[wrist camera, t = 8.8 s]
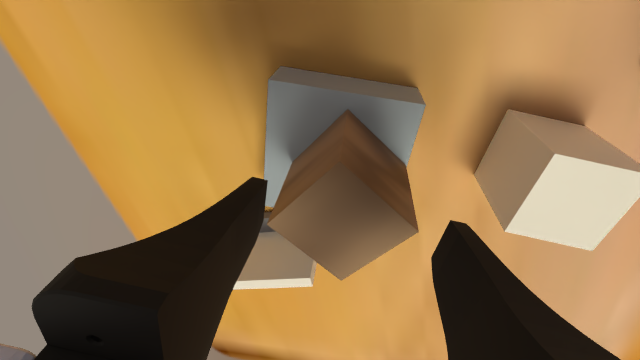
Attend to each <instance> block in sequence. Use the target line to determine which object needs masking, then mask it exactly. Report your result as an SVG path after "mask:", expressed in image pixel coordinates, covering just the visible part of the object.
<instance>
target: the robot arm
mask: <svg viewBox="0 0 640 360" xmlns="http://www.w3.org/2000/svg"><path fill="white" fill-rule="evenodd" d="M267 184H268V180H264V179H260V178H255V177H252V178H250V179H249V180H247V181H246V182H245V183H243V184H242V185H241V186H240V187H238V188H237V189H236V190H234V191H233V192H232V193H230V194H229V195H227V196H226V197H225V198H223V199H222V200H220V201H219V202H217V203H216V204H214V205H213V206H211V207H210V208H208V209H206V210H205V211H203V212H202V213H200V214H198V215H196V216H195V217H193V218H191V219H189V220H187V221H185V222H183V223H181V224H179V225H177V226H175V227H173V228H170V229H168V230H166V231H163V232H161V233H158V234H156V235H153V236H151V237H148V238H146V239H143V240H140V241H137V242H134V243H131V244H128V245H124V246H121V247H118V248H114V249H111V250H107V251H103V252H99V253H95V254H91V255H87V256H82V257H78V258H75V259H74V260H73V261H72V262H71V263H70V264H69V265H68V266H66V267H65V268H64V269H63V270H62V271H61V272H60V273H59V274H58V275H57V276H56V277H55V278H54V279H53V280H52V281H51V282H50V283H49V284H48V285H47V286H46V287H45V288H44V289H43V290H42V291H41V292H40V293H39V294H38V295H37V296H36V297H35V298H34V299H33V303H32V311H33V314H34V318H35V320H36V322H37V324H38V326H39V328H40V330H41V332H42V334H43V336H44V339H45V341H46V343H47V345H46V346H45V348H44V349H43V350H42V351H41V352H40V353H39V354H38V356H37V357H36V356H35V355H34V354H33V353H31V352H30V351H27V350H25V349H22V348H18V347H13V346H8V345H4V344H0V360H206V359H207V356H208V354H209V350H210V348H211V345H212V342H213V339H214V337H215V334H216V331H217V328H218V326H219V323H220V320H221V318H222V315H223V312H224V310H225V307H226V304H227V302H228V299H229V297H230V294H231V292H232V290H233V288H234V286H235V284H236V282H237V280H238V278H239V276H240V274H241V272H242V270H243V268H244V266H245V264H246V262H247V260H248V258H249V256H250V253H251V251H252V249H253V247H254V245H255V243H256V241H257V238H258V235H259V232H260V229H261V226H262V223H263V220H264V211H265V202H266V193H267ZM431 259H432V275H433V283H434V288H435V293H436V298H437V302H438V307H439V311H440V316H441V320H442V324H443V329H444V333H445V339H446V344H447V351H448V360H621V359H619V358H618V357H616V356H615V355H613V354H612V353H610V352H609V351H607V350H606V349H604V348H603V347H601V346H600V345H598V344H597V343H595V342H594V341H593V340H591V339H590V338H588V337H587V336H586V335H584V334H583V333H582V332H580V331H579V330H578V329H576V328H575V327H574V326H572V325H571V324H570V323H568V322H567V321H566V320H564V319H563V318H562V317H561V316H559V315H558V314H557V313H556V312H554V311H553V310H552V309H551V308H550V307H549V306H547V305H546V304H545V303H544V302H543V301H542V300H540V299H539V298H538V297H537V296H536V295H535V294H534V293H533V292H531V291H530V290H529V289H528V288H527V287H526V286H525V285H524V284H523V283H522V282H521V281H520V280H519V279H518V278H517V277H516V276H515V275H514V274H513V273H512V272H511V271H510V270H509V269H508V268H507V267H506V266H505V265H504V264H503V263H502V262H501V261H500V260H499V258H498V257H497V256H496V255H495V254H494V253H493V252H492V251H491V250H490V249H489V247H488V246H487V245H486V244H485V243H484V242H483V241H482V240H481V239H480V238H479V236H478V235H477V234H476V233H475V232H474V231H473V230H472V229H471V228H470V227H469V226H468V225H467V224H466V223H461V222H457V221H452V220H450V222H449V224H448V226H447V228H446V230H445V232H444V234H443V236H442V238H441V240H440V242H439V244H438V246H437V248H436V249H435V251H434V253H433V255H432V257H431Z"/></svg>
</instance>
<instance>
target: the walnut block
mask: <svg viewBox="0 0 640 360" xmlns="http://www.w3.org/2000/svg"><path fill="white" fill-rule="evenodd" d="M267 225H268V226H269V227H271V228H272V229H273V230H275V231H276V232H277V233H279V234H280V235H281V236H283V237H284V238H285V239H287V240H288V241H289V242H291V243H292V244H293V245H295V246H296V247H297V248H299V249H300V250H301V251H303V252H304V253H305V254H307V255H308V256H309V257H311V258H312V259H313V260H315V261H316V262H317V263H318V264H320V265H321V266H322V267H324V268H325V269H326V270H328V271H329V272H330V273H332V274H333V275H334V276H336V277H337V278H338V279H340V280H343V279H345V278H346V277H348V276H349V275H351V274H353V273H354V272H356V271H357V270H359V269H360V268H362V267H364V266H365V265H367V264H368V263H370V262H372V261H373V260H375V259H376V258H378V257H379V256H381V255H383V254H384V253H386V252H387V251H389V250H391V249H392V248H394V247H395V246H397V245H398V244H400V243H402V242H403V241H405V240H406V239H408V238H410V237H411V236H413V235H414V234H416V233H417V232H419V231H418V225H417V220H416V215H415V210H414V205H413V200H412V195H411V189H410V184H409V179H408V174H407V169H406V165H405V164H404V163H403V162H402V161H401V160H400V159H399V158H398V157H397V156H396V155H395V154H394V153H393V152H392V151H391V150H390V149H389V148H388V147H387V146H386V145H385V144H384V143H383V142H382V141H381V140H380V139H379V138H378V137H376V136H375V135H374V134H373V133H372V132H371V131H370V130H369V129H368V128H367V127H366V126H365V125H364V124H363V123H362V122H361V121H360V120H359V119H358V118H357V117H356V116H355V115H354V114H353V113H352V112H351V111H350V110H349V109H347V110H346V111H345V112H344V113H343V114H342V115H341V116H340V117H339V118H338V119H337V120H336V121H335V122H334V123H333V124H331V125H330V126H329V127H328V128H327V129H326V130H325V131H324V132H323V133H322V134H321V135H320V136H319V137H318V138H317V139H316V140H315V141H314V142H313V143H312V144H311V145H310V146H309V147H307V148H306V149H305V150H304V151H303V152H302V153H301V154H300V155H299V156H298V157H297V158H296V159H295V160H294V161H293V162H292V164H291V166H290V169H289V171H288V174H287V176H286V179H285V181H284V183H283V186H282V188H281V191H280V193H279V196H278V198H277V201H276V203H275V206H274V208H273V210H272V213H271V215H270V218H269V220H268V223H267Z"/></svg>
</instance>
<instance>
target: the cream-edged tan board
mask: <svg viewBox="0 0 640 360" xmlns="http://www.w3.org/2000/svg"><path fill="white" fill-rule="evenodd" d="M271 213H272V212H264V220H263V223H262V226H261V229H260V232H259V235H258V238H257V241H256V243H255V245H254V247H253V249H252V251H251V253H250V256H249V258H248V260H247V262H246V264H245V266H244V268H243V270H242V272H241V274H240V276H239V278H238V280H237V282H236V284H235V286H234V288H233V289H259V288H284V287H310V286H313V281H314V276H315V270H316V264H317V262H316V261H315V260H313V259H312V258H311V257H309V256H308V255H307V254H305V253H304V252H303V251H301V250H300V249H299V248H297V247H296V246H295V245H293V244H292V243H291V242H289V241H288V240H287V239H285V238H284V237H283V236H281V235H280V234H279V233H277V232H276V231H275V230H273V229H272V228H271V227H269V226H268V225H267V223H268V220H269V218H270V215H271Z"/></svg>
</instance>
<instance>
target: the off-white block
mask: <svg viewBox="0 0 640 360" xmlns="http://www.w3.org/2000/svg"><path fill="white" fill-rule="evenodd" d="M474 176H475V178H476V179H477V181H478V183H479V185H480V187H481V189H482V190H483V192H484V194H485V196H486V198H487V200H488V202H489V203H490V205H491V207H492V209H493V211H494V213H495V215H496V216H497V218H498V220H499V222H500V224H501V226H502V228H503V229H504V231H505V232H509V233H514V234H518V235H523V236H527V237H532V238H536V239H541V240H545V241H550V242H554V243H559V244H563V245H568V246H572V247H577V248H581V249H586V250H590V251H593V250H594V249H595V247H596V246H597V245H598V244H599V243H600V242H601V241H602V239H603V238H604V237H605V236H606V235H607V234H608V233H609V231H610V230H611V229H612V228H613V227H614V226H615V225H616V223H617V222H618V221H619V220H620V219H621V218H622V217H623V215H624V214H625V213H626V212H627V211H628V210H629V209H630V207H631V206H632V205H633V204H634V203H635V202H636V201H637V199H638V198H639V197H640V164H639V163H638V162H636V161H635V160H633V159H632V158H631V157H629V156H628V155H626V154H625V153H623V152H622V151H620V150H619V149H618V148H616V147H615V146H613V145H612V144H610V143H609V142H607V141H606V140H604V139H603V138H602V137H600V136H599V135H597V134H596V133H594V132H593V131H591V130H590V129H589V128H587V127H586V126H583V125H578V124H573V123H569V122H564V121H560V120H555V119H551V118H546V117H542V116H537V115H533V114H528V113H524V112H519V111H515V110H510V109H508V110H507V112H506V114H505V116H504V118H503V120H502V121H501V123H500V125H499V127H498V129H497V131H496V133H495V135H494V137H493V139H492V141H491V143H490V145H489V147H488V149H487V150H486V152H485V154H484V156H483V158H482V160H481V162H480V164H479V166H478V168H477V170H476V172H475V174H474Z"/></svg>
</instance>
